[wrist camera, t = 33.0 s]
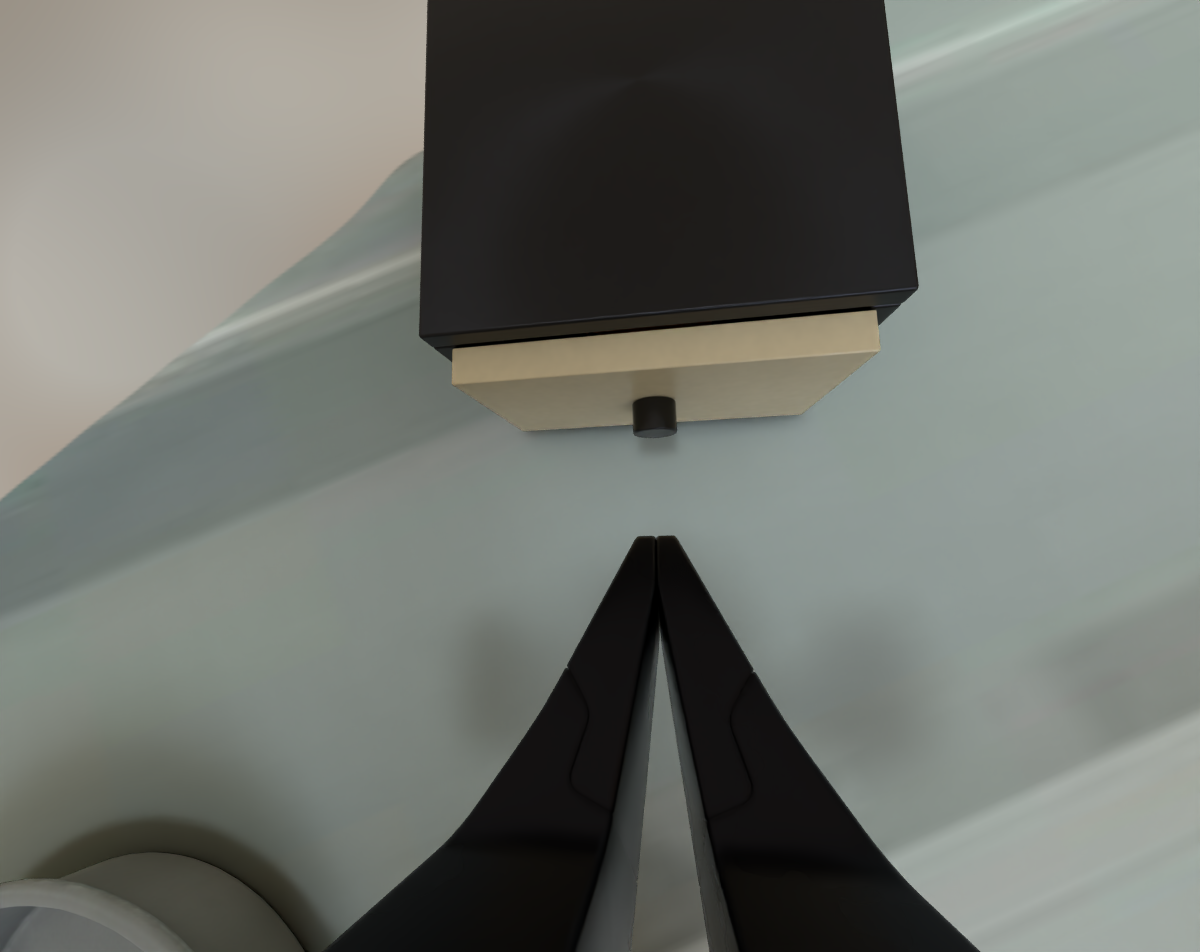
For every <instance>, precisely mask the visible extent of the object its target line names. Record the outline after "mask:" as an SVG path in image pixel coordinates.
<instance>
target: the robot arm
mask: <svg viewBox="0 0 1200 952" xmlns="http://www.w3.org/2000/svg"><path fill="white" fill-rule="evenodd" d="M660 634H661V643H662V650H663V657H664V663H665V670H666V676H667V682H668V689H669V695H670V702H671V708H672V715H673V721H674V727H675V734H676V740H677V747H678V753H679V759H680V766H681V772H682V779H683V785H684V791H685V798H686V804H687V811H688V817H689V823H690V830H691V836H692V843H693V849H694V855H695V862H696V868H697V875H698V881H699V886H700V894H701V900H702V907H703V913H704V920H705V926H706V932H707V939H708V945H709V952H980V951H979V950H978V949H977V948H976V947H975V946H974V945H973V944H972V943H971V942H970V941H969V940H968V939H966V938H965V937H964V936H963V935H962V934H961V933H960V932H959V931H958V930H957V929H956V928H955V927H954V926H953V925H952V924H951V923H950V922H948V921H947V920H946V919H945V918H944V917H943V916H942V915H941V914H940V913H939V912H938V911H937V910H936V909H935V908H934V907H933V906H932V905H931V904H929V903H928V902H927V901H926V900H925V899H924V898H923V897H922V896H921V895H920V894H919V893H918V892H917V891H916V890H915V889H914V888H913V887H912V886H911V885H910V884H909V883H908V882H907V881H906V880H905V879H904V878H903V877H902V876H901V874H900V873H899V872H898V871H897V870H896V869H895V868H894V866H893V865H892V864H891V863H890V862H889V861H888V859H887V858H886V857H885V856H884V855H883V853H882V852H881V851H880V850H879V848H878V847H877V846H876V845H875V843H874V842H873V841H872V839H871V838H870V837H869V836H868V834H867V833H866V832H865V830H864V829H863V828H862V826H861V825H860V824H859V822H858V821H857V819H856V818H855V817H854V815H853V814H852V813H851V811H850V810H849V809H848V807H847V806H846V805H845V803H844V802H843V800H842V799H841V798H840V796H839V795H838V794H837V792H836V791H835V790H834V788H833V787H832V786H831V784H830V783H829V781H828V780H827V779H826V777H825V776H824V775H823V773H822V772H821V771H820V769H819V768H818V766H817V765H816V764H815V762H814V761H813V760H812V758H811V757H810V756H809V754H808V753H807V752H806V750H805V749H804V747H803V746H802V744H801V743H800V742H799V740H798V739H797V737H796V736H795V734H794V733H793V731H792V730H791V729H790V727H789V726H788V724H787V723H786V721H785V720H784V718H783V717H782V715H781V714H780V712H779V710H778V709H777V707H776V706H775V704H774V702H773V701H772V699H771V698H770V696H769V694H768V693H767V691H766V689H765V688H764V686H763V684H762V683H761V681H760V679H759V677H758V676H757V674H756V673H755V672H753V668H752V666H751V664H750V662H749V661H748V659H747V657H746V656H745V654H744V652H743V650H742V649H741V647H740V645H739V644H738V642H737V640H736V638H735V637H734V635H733V633H732V632H731V630H730V628H729V626H728V625H727V623H726V621H725V620H724V618H723V616H722V614H721V613H720V611H719V609H718V608H717V606H716V604H715V602H714V601H713V599H712V597H711V596H710V594H709V592H708V590H707V589H706V587H705V585H704V584H703V582H702V580H701V578H700V577H699V575H698V573H697V572H696V570H695V568H694V566H693V565H692V563H691V561H690V560H689V558H688V556H687V554H686V553H685V551H684V549H683V548H682V546H681V544H680V542H679V541H678V539H677V538H676V537H675V536H658V537H657V538H655V537H654V536H638V537H637V538H636V539H635V540H634V542H633V544H632V546H631V548H630V550H629V552H628V553H627V555H626V557H625V559H624V561H623V563H622V564H621V566H620V568H619V570H618V572H617V574H616V576H615V577H614V579H613V581H612V583H611V585H610V587H609V589H608V590H607V592H606V594H605V596H604V598H603V600H602V601H601V603H600V605H599V607H598V609H597V611H596V613H595V614H594V616H593V618H592V620H591V622H590V624H589V625H588V627H587V629H586V631H585V633H584V635H583V637H582V638H581V640H580V642H579V644H578V646H577V648H576V649H575V651H574V653H573V655H572V657H571V659H570V661H569V662H568V664H567V667H568V668H565V669H564V671H563V673H562V675H561V677H560V679H559V681H558V682H557V684H556V686H555V688H554V689H553V691H552V693H551V695H550V696H549V698H548V700H547V702H546V703H545V705H544V707H543V708H542V710H541V712H540V713H539V715H538V716H537V718H536V719H535V721H534V722H533V724H532V725H531V727H530V728H529V730H528V731H527V733H526V734H525V736H524V738H523V739H522V740H521V742H520V743H519V745H518V746H517V748H516V749H515V750H514V752H513V753H512V755H511V756H510V758H509V759H508V761H507V762H506V763H505V765H504V766H503V768H502V769H501V771H500V772H499V773H498V775H497V776H496V778H495V779H494V781H493V782H492V783H491V785H490V786H489V788H488V789H487V791H486V792H485V794H484V795H483V796H482V798H481V799H480V801H479V802H478V804H477V805H476V806H475V808H474V809H473V810H472V812H471V813H470V815H469V816H468V817H467V818H466V820H465V821H464V822H463V823H462V825H461V826H460V827H459V828H458V829H457V830H456V832H455V833H454V834H453V835H452V836H451V837H450V838H449V839H448V840H447V841H446V842H445V843H444V844H443V845H442V846H441V847H440V848H439V849H438V850H437V851H436V852H435V853H434V854H432V855H431V856H430V857H429V858H428V859H427V860H426V861H424V862H423V863H422V864H421V865H420V866H419V867H418V868H417V869H415V870H414V871H413V872H412V873H411V874H410V875H409V876H407V877H406V878H405V879H404V880H403V881H402V882H401V883H400V884H398V885H397V886H396V887H395V888H394V889H393V890H392V891H390V892H389V893H388V894H387V895H386V896H385V897H384V898H383V899H381V900H380V901H379V902H378V903H377V904H376V905H375V906H373V907H372V908H371V909H370V910H369V911H368V912H367V913H366V914H364V915H363V916H362V917H361V918H360V919H359V920H358V921H356V922H355V923H354V924H353V925H352V926H351V927H350V928H349V929H347V930H346V931H345V932H344V933H343V934H342V935H341V936H339V937H338V938H337V939H336V940H335V941H334V942H333V943H332V944H330V945H329V946H328V947H327V948H326V949H325V950H323V951H322V952H631V947H632V936H633V925H634V914H635V903H636V892H637V882H636V881H637V879H638V870H639V859H640V848H641V838H642V827H643V816H644V805H645V794H646V783H647V772H648V762H649V751H650V740H651V729H652V718H653V707H654V696H655V686H656V675H657V664H658V653H659V639H660Z"/></svg>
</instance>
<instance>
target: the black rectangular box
mask: <svg viewBox="0 0 1200 952" xmlns="http://www.w3.org/2000/svg"><path fill="white" fill-rule="evenodd" d="M426 46H427V47H426V83H425V123H424V163H423V203H422V242H421V282H420V322H419V336H420V338H421V339H423V340H424V341H425V342H427V343H428V344H429V345H430V346H432V347H434V348H435V349H436V350H437V351H438V352H440V353H441V354H442V355H444V356H445V357H446V358H448V359H449V360H450V361H451V362H452V350H453V349H455V348H466V347H477V346H488V345H498V344H506V343H505V342H504V341H503V340H514V339H525V338H535V337H546V336H557V335H568V334H578V333H589V332H600V331H611V330H621V329H632V328H643V327H654V326H664V325H675V324H686V323H697V322H707V321H718V320H729V319H739V318H750V317H761V316H772V315H782V314H793V313H804V312H813V313H812V314H811V316H814V315H825V314H836V313H847V312H858V311H869V310H876V312H877V321H878V326H879V325H880V324H881V323H882V322H883V321H884V320H885V319H886V318H887V317H888V316H889V315H891V314H892V313H893V312H894V311H895V310H896V309H897V308H898V307H899V306H900V305H901V303H903V302H905V301H906V300H907V299H908V298H909V297H910V296H911V295H912V294H913V293H914V292H915V291H916V290H917V289H918V286H919V285H918V277H917V269H916V260H915V252H914V244H913V236H912V227H911V219H910V211H909V203H908V194H907V186H906V178H905V170H904V161H903V153H902V145H901V136H900V128H899V120H898V112H897V103H896V95H895V87H894V79H893V70H892V62H891V54H890V46H889V37H888V29H887V21H886V13H885V4H884V0H428V4H427V44H426Z"/></svg>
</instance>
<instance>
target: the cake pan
mask: <svg viewBox="0 0 1200 952" xmlns="http://www.w3.org/2000/svg"><path fill="white" fill-rule="evenodd" d="M0 952H305V951H304V950H303V948H302V947H301V945H300V944H299V942H298V940H297V939H296V937H295V936H294V935H293V933H292V932H291V931H290V930H289V928H288V927H287V926H286V924H285V923H284V922H283V921H282V919H281V918H280V917H279V915H278V914H277V913H276V912H275V911H274V910H273V909H272V908H271V907H270V906H269V905H268V904H267V903H266V902H265V901H264V900H263V899H262V898H261V897H260V896H259V895H257V894H256V893H255V892H254V891H253V890H251V889H250V888H249V887H247V886H246V885H245V884H243V883H242V882H241V881H239V880H238V879H236V878H234V877H233V876H231V875H229V874H228V873H226V872H224V871H223V870H221V869H219V868H217V867H215V866H212V865H210V864H207V863H205V862H202V861H200V860H197V859H194V858H190V857H186V856H182V855H176V854H169V853H155V852H147V853H136V854H128V855H124V856H120V857H116V858H112V859H108V860H106V861H103V862H100V863H98V864H95V865H92V866H90V867H87V868H85V869H82V870H80V871H77V872H75V873H72V874H69V875H67V876H64V877H62V878H59V879H52V878H31V879H23V880H16V881H10V882H5V883H0Z"/></svg>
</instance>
